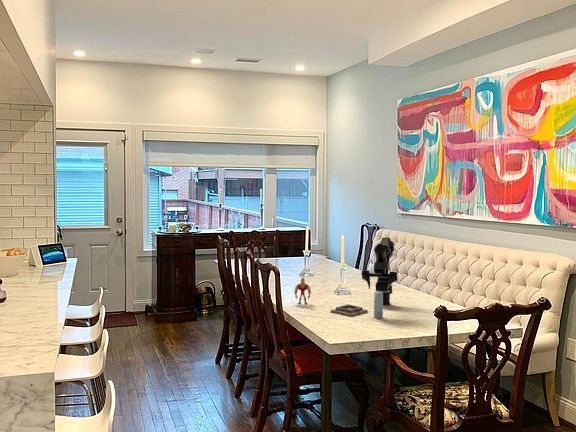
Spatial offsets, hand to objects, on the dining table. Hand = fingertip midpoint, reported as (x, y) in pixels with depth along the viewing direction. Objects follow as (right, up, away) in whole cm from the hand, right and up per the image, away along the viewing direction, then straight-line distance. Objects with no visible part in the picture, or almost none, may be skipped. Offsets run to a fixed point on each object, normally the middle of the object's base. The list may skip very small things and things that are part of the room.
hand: (378, 289), depth 299 cm
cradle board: (-15, -13, +4) cm, 20 cm away
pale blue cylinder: (-1, -14, -7) cm, 15 cm away
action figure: (-39, -12, +25) cm, 48 cm away
